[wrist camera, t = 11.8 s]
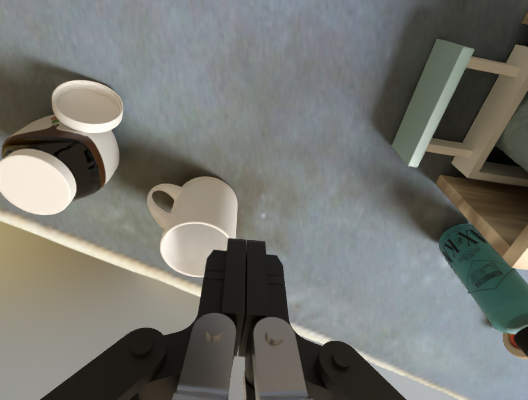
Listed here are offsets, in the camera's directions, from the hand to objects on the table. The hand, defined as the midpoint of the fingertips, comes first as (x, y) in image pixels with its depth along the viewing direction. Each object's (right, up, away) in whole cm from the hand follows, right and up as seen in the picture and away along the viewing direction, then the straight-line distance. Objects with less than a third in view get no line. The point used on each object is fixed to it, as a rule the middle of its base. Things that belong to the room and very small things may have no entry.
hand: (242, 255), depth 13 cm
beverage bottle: (+31, -3, +39) cm, 50 cm away
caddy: (+31, +13, +28) cm, 43 cm away
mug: (-9, +3, +33) cm, 35 cm away
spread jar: (-21, +12, +27) cm, 36 cm away
